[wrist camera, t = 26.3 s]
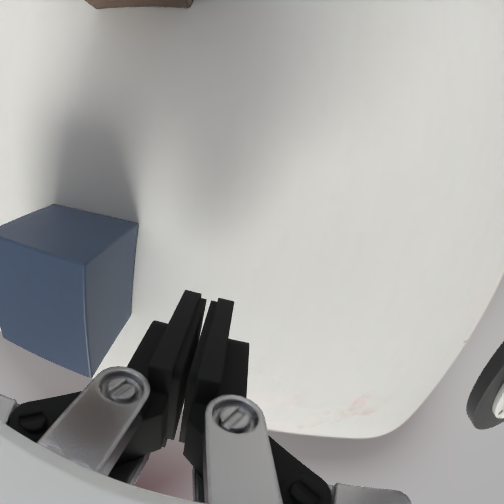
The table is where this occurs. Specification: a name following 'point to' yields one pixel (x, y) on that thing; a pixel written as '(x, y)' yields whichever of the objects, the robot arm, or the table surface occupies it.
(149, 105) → the table surface
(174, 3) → the walnut block
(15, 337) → the slate-blue block
